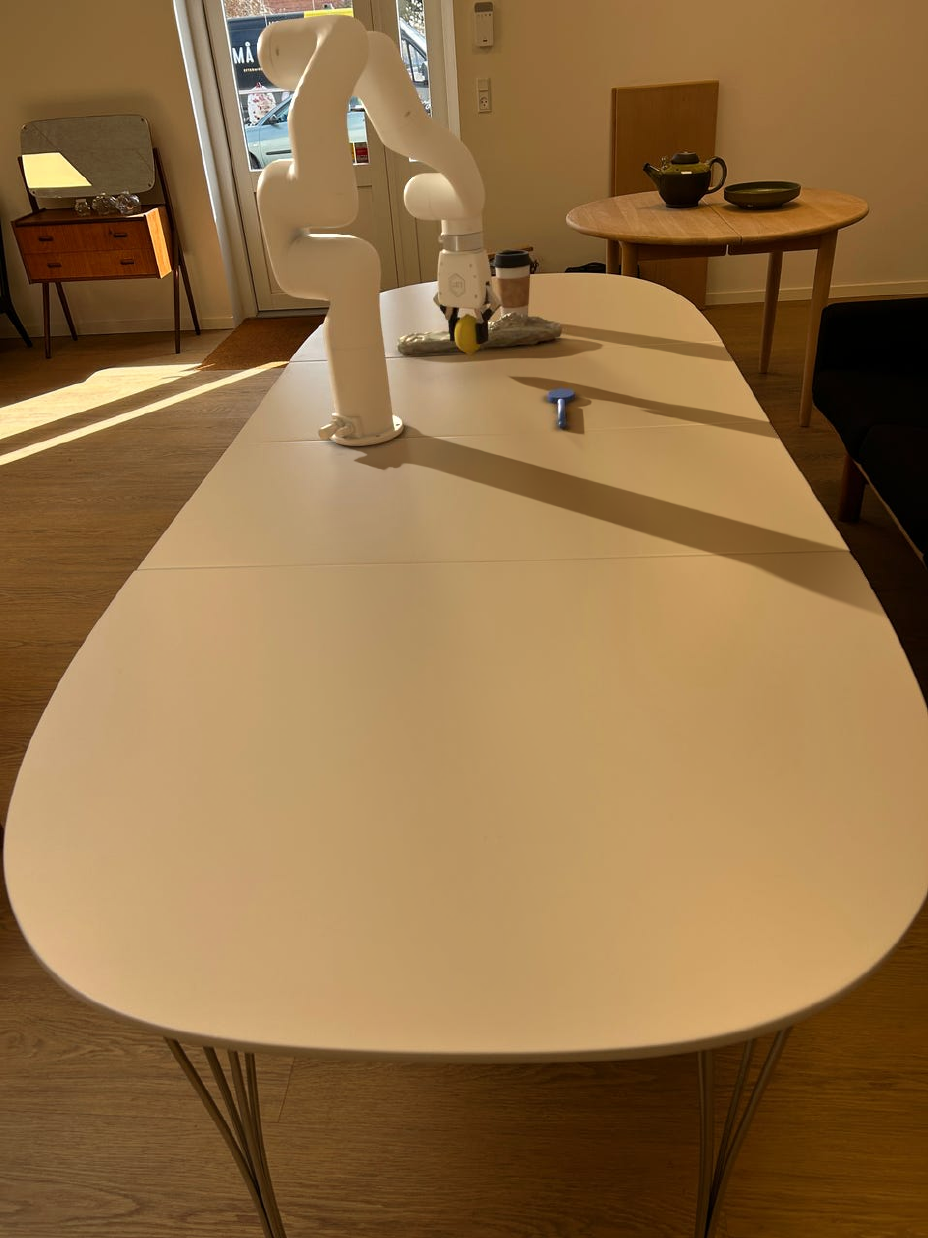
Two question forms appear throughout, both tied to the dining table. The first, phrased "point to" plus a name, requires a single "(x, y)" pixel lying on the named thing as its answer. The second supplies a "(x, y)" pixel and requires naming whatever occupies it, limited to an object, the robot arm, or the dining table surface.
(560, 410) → the blue paddle
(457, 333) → the lemon
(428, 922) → the dining table surface
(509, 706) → the dining table surface
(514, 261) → the coffee cup
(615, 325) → the dining table surface
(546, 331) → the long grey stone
